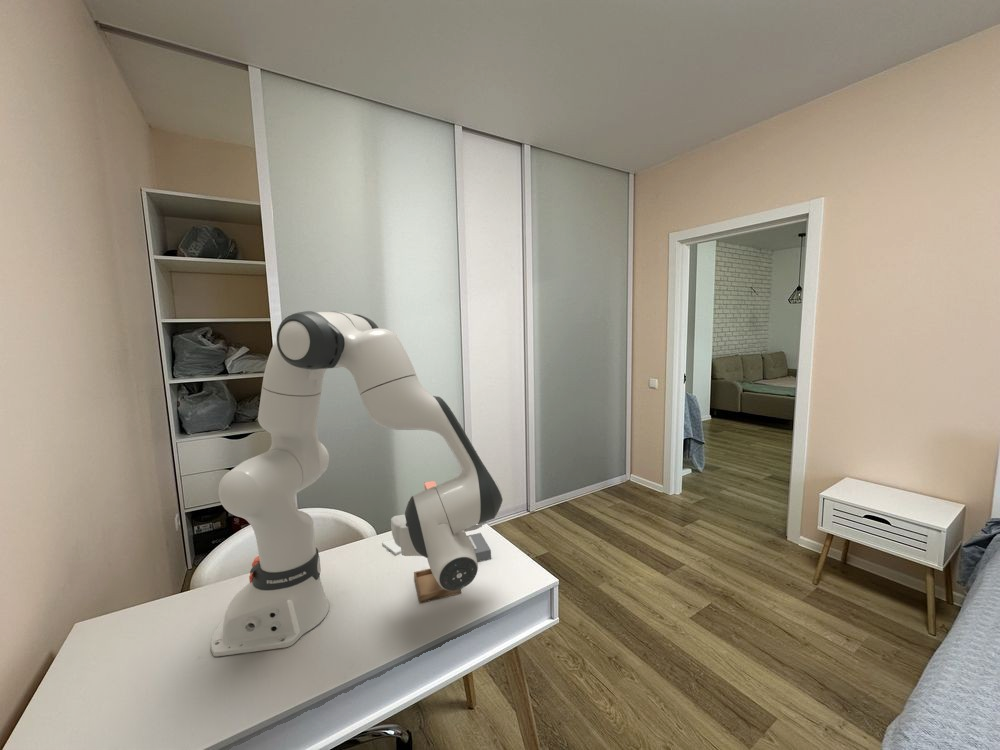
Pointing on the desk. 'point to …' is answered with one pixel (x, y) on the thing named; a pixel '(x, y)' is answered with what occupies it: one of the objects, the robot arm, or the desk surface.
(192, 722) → the desk surface
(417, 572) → the tray
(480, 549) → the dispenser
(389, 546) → the external hard drive
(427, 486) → the pink rectangular bar
